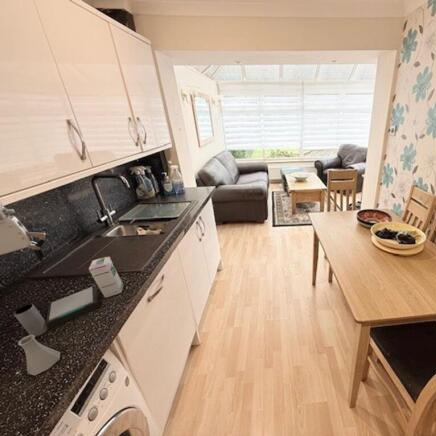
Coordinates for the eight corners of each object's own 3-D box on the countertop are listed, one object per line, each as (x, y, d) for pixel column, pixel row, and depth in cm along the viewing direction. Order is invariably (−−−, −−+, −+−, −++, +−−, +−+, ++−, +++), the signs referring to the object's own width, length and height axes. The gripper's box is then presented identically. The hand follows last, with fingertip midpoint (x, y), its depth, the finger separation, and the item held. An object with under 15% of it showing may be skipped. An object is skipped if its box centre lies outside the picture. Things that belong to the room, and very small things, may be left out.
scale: (49, 328, 80) (44, 322, 79) (52, 308, 89) (48, 302, 87) (99, 306, 88) (96, 300, 87) (97, 290, 96) (94, 284, 95)
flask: (24, 367, 68) (4, 343, 64) (57, 347, 73) (40, 324, 69) (31, 381, 64) (9, 357, 60) (64, 358, 70) (47, 335, 65)
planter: (31, 331, 80) (14, 308, 75) (49, 323, 82) (33, 301, 78) (30, 339, 77) (11, 316, 72) (48, 331, 79) (32, 308, 75)
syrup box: (122, 292, 94) (107, 262, 88) (104, 298, 92) (87, 268, 86) (123, 284, 99) (109, 255, 93) (106, 289, 96) (91, 260, 90)
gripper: (32, 205, 76) (58, 250, 84) (-52, 223, 67) (-15, 272, 74) (28, 212, 71) (56, 259, 78) (-64, 232, 61) (-22, 284, 69)
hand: (22, 265), depth 76 cm, fingers open, 9 cm apart
